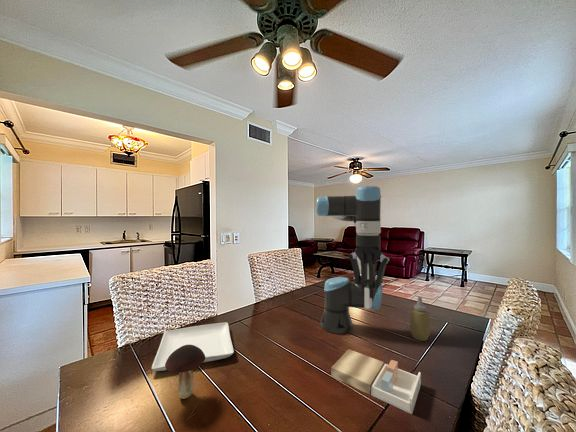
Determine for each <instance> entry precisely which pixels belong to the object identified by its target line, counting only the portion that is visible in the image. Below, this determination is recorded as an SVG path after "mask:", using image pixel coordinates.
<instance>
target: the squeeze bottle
mask: <svg viewBox="0 0 576 432" xmlns="http://www.w3.org/2000/svg"><path fill="white" fill-rule="evenodd" d="M410 312H411V313H410V322H409V330H410V333H411V337H412V338H413V339H414V340H416V341H419V342H420V341H422V342H427V341H428V340H429V337H430V335H431V323H430V313H429V312H428V311H427V307H426V305H424V303H423V298H422V297H421V296H418V297H417V301H416V303H415V304H413V308H412V309H411V311H410Z"/></svg>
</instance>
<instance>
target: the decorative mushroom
mask: <svg viewBox="0 0 576 432" xmlns="http://www.w3.org/2000/svg"><path fill="white" fill-rule="evenodd" d="M204 360H205V354H204V353H203V351H202V350H201V349H200V348H198V347H196V346H194V345H184V346H182V347H180V348H178V349H176V350H175V351H174V352H173V353H172V354H171V355H170V356H169V357H168V359H167V361H166V363H165V367H166V369H167V370H166V371H168V372H169V373H174V374H175V373H176V374H177V373H178V384H177V385H178V387H177V389H178V391H177V392H178V396H179V398H180V399H183V400H184V399H188V398H190V396H192V395H193V391H194V373H193V372H194V371H193V370H195V369H198V368H199V367H200V366H201V365H202V364H203V363H205V362H204Z"/></svg>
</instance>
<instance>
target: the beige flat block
mask: <svg viewBox="0 0 576 432" xmlns="http://www.w3.org/2000/svg"><path fill="white" fill-rule="evenodd" d="M384 364H385V363H384V361H382V360H380V359H377V358H373V357H371V356H369V355H366V354H363V353H360V352H357V351H355V350H352V349H349V348H348V349H347V350H346V351H345V353H343V355H342V356H341V357H340V358H338V360H336V362H335V363H334V364H333V365H332V366H331V367H330V368H331V369H330V371H331V373H330V376H331V378H333V379H336V380H338V381H340V382H342V383H344V384H346V385H348V386H351V387H353V388H355V389H357V390H359V391H361V392H363V393H365V394H368V395H371V386H372V384H373V383H374V381H375V379H376V378H377V376H378V374H379V373H380V371H381V369H382V367H383V366H384Z"/></svg>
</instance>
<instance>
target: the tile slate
mask: <svg viewBox="0 0 576 432" xmlns="http://www.w3.org/2000/svg"><path fill="white" fill-rule="evenodd" d="M382 390H383V391H386V392H388V393H390V394H392V391H393V373H391V372H389V371H386V372H385V374H384V376H383V378H382Z"/></svg>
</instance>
